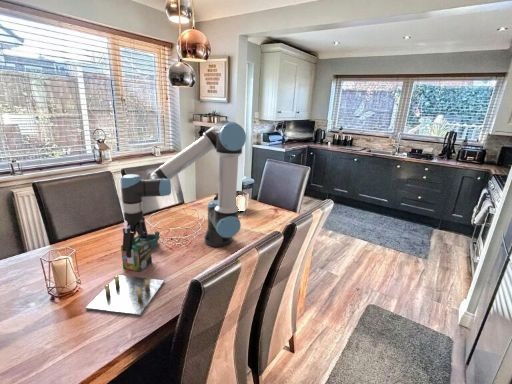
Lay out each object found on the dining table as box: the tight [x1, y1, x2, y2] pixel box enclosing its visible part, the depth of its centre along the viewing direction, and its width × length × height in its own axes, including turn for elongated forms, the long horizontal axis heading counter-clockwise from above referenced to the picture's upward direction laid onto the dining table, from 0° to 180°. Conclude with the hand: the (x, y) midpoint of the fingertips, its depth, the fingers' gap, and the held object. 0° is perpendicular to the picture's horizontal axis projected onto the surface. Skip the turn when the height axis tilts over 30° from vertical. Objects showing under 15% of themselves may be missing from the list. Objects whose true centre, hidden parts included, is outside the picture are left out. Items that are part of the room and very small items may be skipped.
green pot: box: [145, 231, 160, 251], centre depth 142 cm, size 9×9×9 cm
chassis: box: [85, 274, 165, 317], centre depth 106 cm, size 20×20×6 cm
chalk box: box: [120, 234, 153, 273], centre depth 124 cm, size 9×9×15 cm
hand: (137, 257), depth 125 cm, fingers closed on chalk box, 10 cm apart
